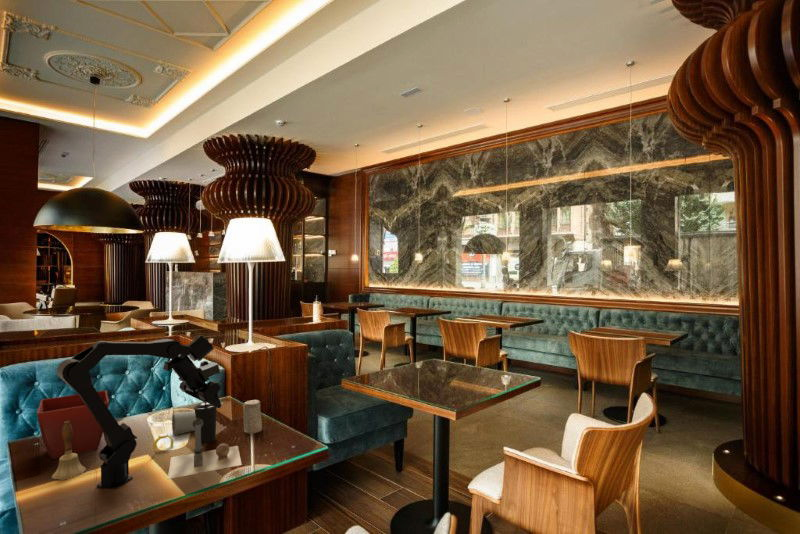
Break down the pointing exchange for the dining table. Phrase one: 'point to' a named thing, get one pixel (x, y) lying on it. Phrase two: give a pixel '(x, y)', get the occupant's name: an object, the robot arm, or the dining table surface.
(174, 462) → the board
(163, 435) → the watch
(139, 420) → the dining table surface
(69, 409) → the plant pot
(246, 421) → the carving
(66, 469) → the hand bell
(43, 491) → the dining table surface
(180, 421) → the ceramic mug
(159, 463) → the dining table surface
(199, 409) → the drinking cup
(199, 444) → the lever
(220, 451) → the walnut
